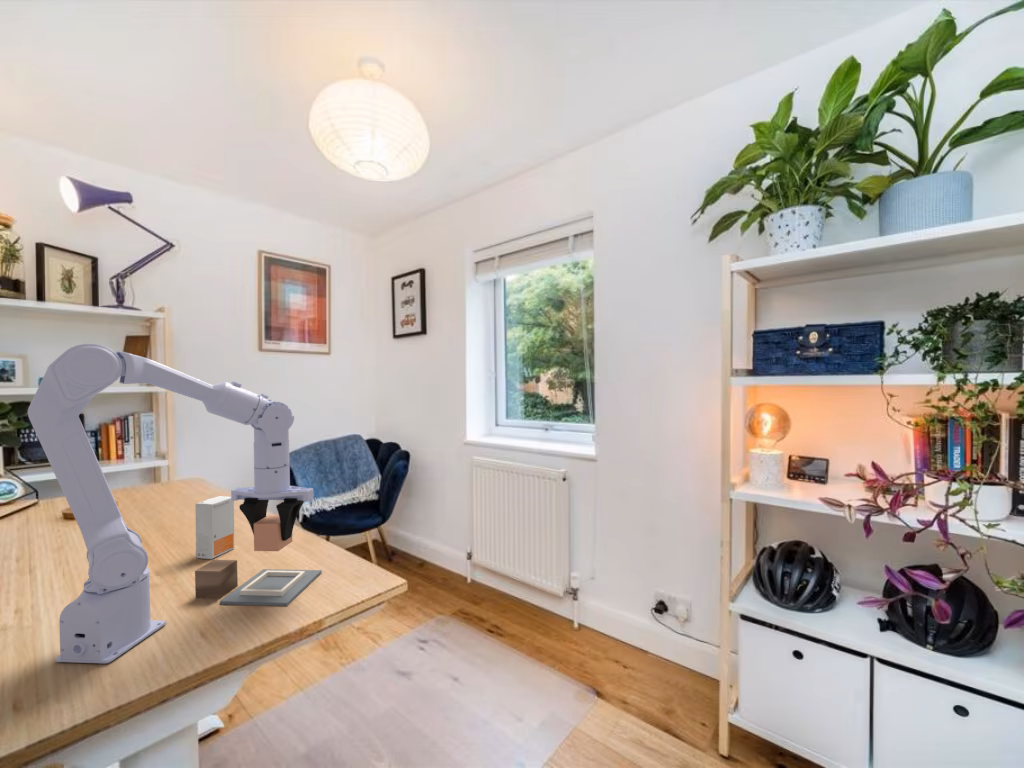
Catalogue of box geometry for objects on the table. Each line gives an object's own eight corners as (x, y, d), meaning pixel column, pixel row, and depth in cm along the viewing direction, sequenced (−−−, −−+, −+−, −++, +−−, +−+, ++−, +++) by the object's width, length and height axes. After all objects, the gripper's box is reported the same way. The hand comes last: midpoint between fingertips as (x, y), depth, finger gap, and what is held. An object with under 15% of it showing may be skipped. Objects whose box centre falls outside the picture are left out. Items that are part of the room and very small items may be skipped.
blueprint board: (287, 605, 73) (287, 598, 73) (219, 604, 73) (219, 596, 73) (321, 572, 85) (321, 566, 85) (263, 571, 85) (263, 565, 85)
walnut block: (220, 599, 75) (219, 571, 75) (195, 598, 75) (194, 570, 75) (237, 586, 80) (237, 560, 80) (214, 585, 80) (213, 559, 80)
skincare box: (212, 560, 91) (210, 504, 90) (195, 558, 92) (194, 503, 91) (235, 548, 97) (234, 496, 96) (220, 547, 98) (218, 495, 97)
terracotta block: (278, 551, 77) (277, 523, 77) (254, 550, 77) (253, 523, 77) (292, 541, 81) (291, 515, 81) (269, 541, 81) (269, 515, 81)
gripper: (321, 461, 82) (322, 530, 83) (248, 460, 83) (249, 529, 83) (301, 469, 75) (302, 545, 76) (222, 469, 76) (223, 544, 76)
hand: (273, 538), depth 79 cm, fingers closed on terracotta block, 4 cm apart
